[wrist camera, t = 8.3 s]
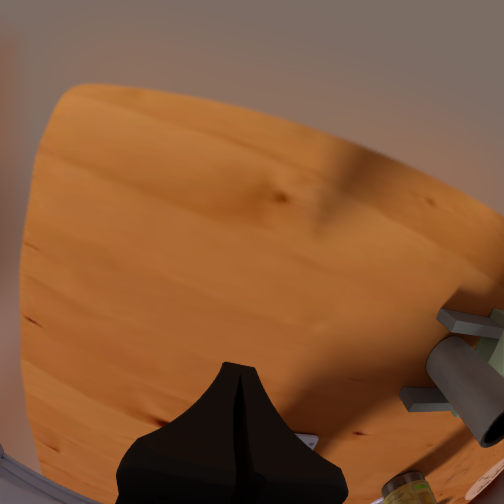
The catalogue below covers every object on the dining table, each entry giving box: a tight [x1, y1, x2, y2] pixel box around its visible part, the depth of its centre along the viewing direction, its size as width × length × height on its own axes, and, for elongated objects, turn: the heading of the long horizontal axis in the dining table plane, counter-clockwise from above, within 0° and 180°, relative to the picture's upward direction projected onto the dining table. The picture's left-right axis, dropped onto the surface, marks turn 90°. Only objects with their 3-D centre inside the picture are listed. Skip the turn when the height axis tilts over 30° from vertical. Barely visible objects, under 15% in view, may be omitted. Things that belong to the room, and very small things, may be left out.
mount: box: [399, 308, 504, 417], centre depth 22 cm, size 11×12×2 cm
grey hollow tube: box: [426, 336, 504, 448], centre depth 18 cm, size 4×4×10 cm
